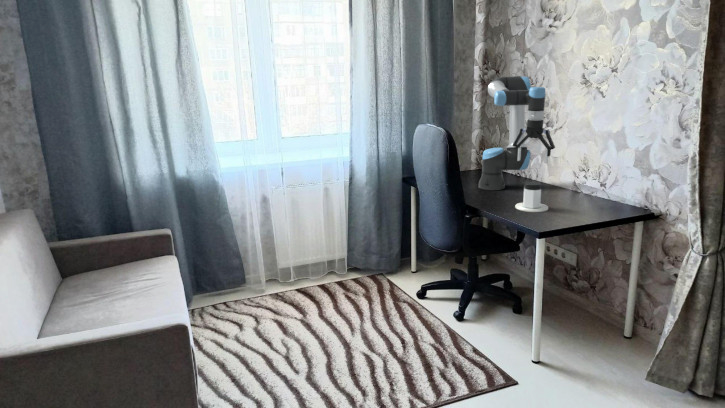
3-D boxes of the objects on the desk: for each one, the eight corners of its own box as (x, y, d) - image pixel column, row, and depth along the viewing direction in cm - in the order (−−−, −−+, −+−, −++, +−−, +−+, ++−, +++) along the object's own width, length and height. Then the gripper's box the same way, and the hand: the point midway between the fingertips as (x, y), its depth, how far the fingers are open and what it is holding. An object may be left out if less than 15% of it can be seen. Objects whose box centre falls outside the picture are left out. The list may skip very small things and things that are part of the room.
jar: (541, 208, 245) (542, 185, 242) (524, 208, 247) (525, 185, 244) (538, 204, 254) (540, 181, 251) (522, 203, 255) (523, 181, 252)
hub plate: (509, 205, 257) (509, 203, 256) (537, 202, 259) (537, 201, 259) (525, 213, 241) (525, 211, 241) (554, 210, 244) (554, 209, 244)
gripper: (507, 119, 246) (505, 160, 253) (560, 121, 233) (556, 165, 239) (512, 117, 252) (510, 157, 259) (563, 119, 239) (559, 162, 245)
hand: (532, 161), depth 249 cm, fingers open, 13 cm apart
